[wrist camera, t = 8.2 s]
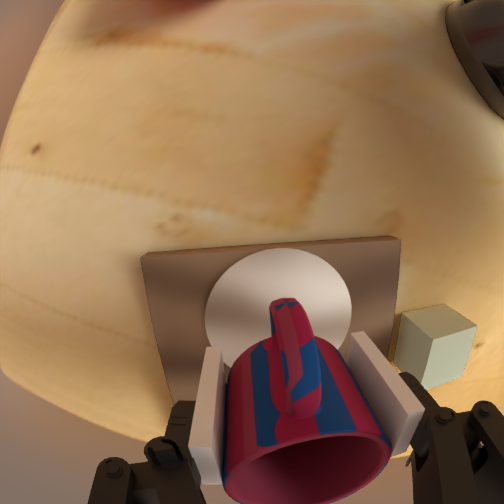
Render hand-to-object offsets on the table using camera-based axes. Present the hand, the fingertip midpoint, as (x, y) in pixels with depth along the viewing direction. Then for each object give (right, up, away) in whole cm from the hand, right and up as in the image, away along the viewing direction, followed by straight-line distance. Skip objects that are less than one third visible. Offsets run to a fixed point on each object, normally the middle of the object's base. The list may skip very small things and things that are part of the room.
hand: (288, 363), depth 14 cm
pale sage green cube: (+13, -1, +8) cm, 15 cm away
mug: (0, 0, 0) cm, 1 cm away
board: (0, -2, +7) cm, 7 cm away
